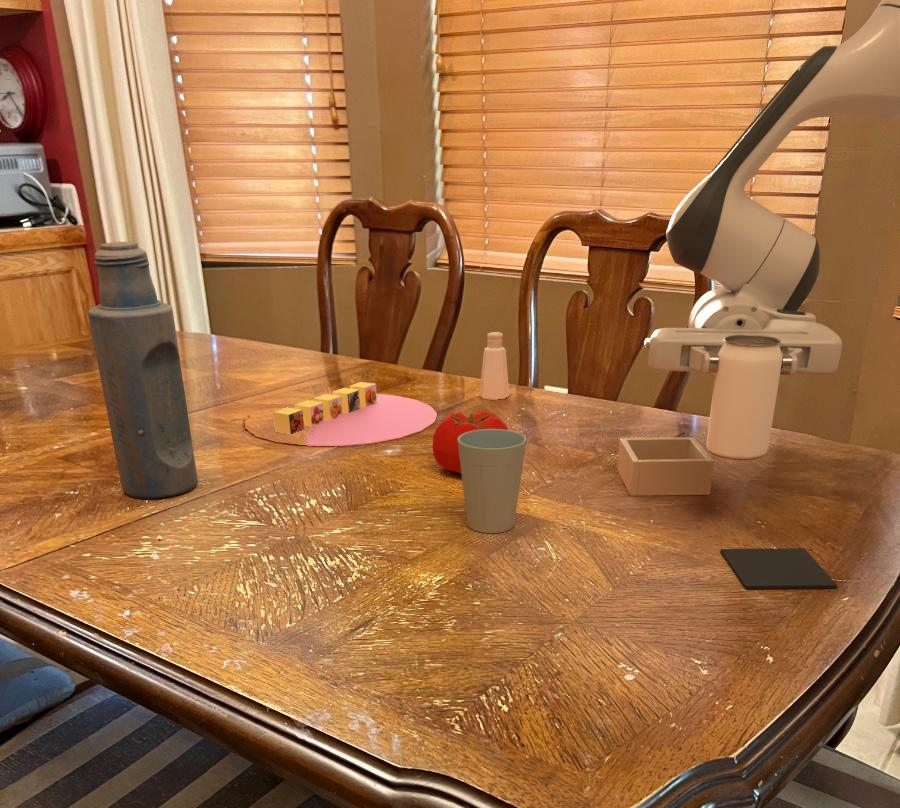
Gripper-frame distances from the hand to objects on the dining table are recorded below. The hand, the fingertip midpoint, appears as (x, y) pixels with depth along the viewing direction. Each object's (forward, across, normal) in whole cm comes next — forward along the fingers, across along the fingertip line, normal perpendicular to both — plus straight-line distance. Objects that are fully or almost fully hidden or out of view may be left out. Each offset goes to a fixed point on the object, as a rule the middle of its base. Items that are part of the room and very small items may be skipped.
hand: (750, 366), depth 89 cm
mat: (+9, +4, +19) cm, 21 cm away
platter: (-42, -57, +19) cm, 73 cm away
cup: (+1, -27, +19) cm, 33 cm away
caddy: (-16, -6, +19) cm, 26 cm away
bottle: (-6, -72, +19) cm, 74 cm away
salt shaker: (-59, -33, +19) cm, 70 cm away
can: (-1, 0, +10) cm, 10 cm away
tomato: (-18, -32, +19) cm, 41 cm away
